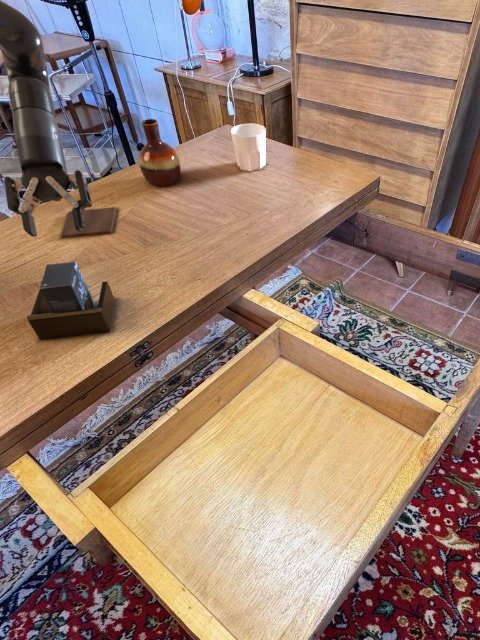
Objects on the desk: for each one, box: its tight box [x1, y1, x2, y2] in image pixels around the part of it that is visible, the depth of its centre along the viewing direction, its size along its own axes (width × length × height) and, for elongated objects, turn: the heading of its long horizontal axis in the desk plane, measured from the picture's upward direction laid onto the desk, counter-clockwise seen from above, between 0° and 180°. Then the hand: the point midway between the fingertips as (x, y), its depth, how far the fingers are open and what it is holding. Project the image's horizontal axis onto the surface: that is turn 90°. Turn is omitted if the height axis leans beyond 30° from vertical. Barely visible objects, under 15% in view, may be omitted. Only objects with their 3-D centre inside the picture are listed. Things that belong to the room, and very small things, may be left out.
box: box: [39, 261, 96, 313], centre depth 86 cm, size 8×6×11 cm
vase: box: [138, 118, 182, 188], centre depth 122 cm, size 11×11×15 cm
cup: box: [230, 123, 267, 173], centre depth 130 cm, size 10×10×10 cm
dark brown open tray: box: [26, 280, 116, 341], centre depth 87 cm, size 13×10×6 cm
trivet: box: [60, 206, 117, 239], centre depth 113 cm, size 12×12×1 cm
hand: (55, 233), depth 83 cm, fingers open, 8 cm apart
